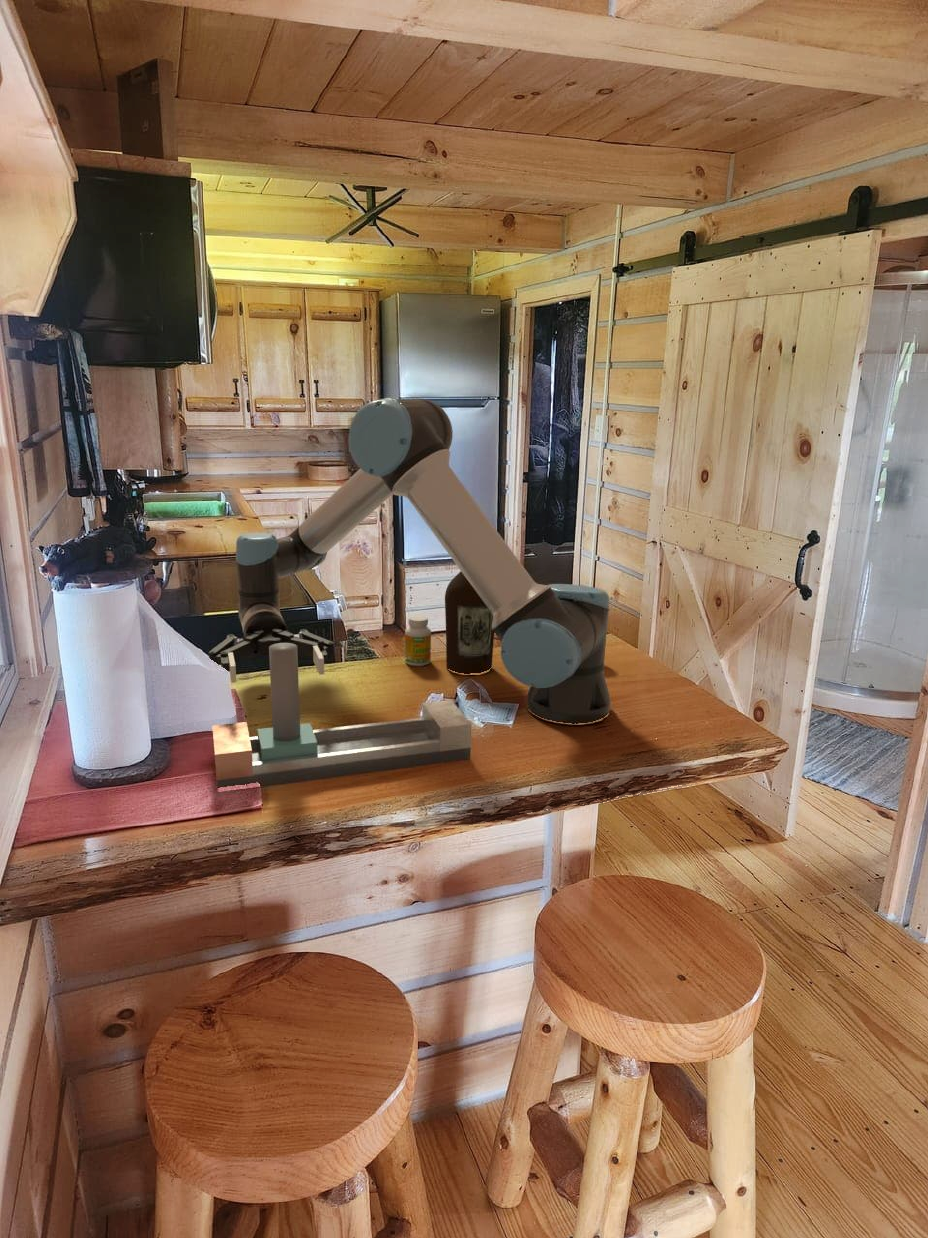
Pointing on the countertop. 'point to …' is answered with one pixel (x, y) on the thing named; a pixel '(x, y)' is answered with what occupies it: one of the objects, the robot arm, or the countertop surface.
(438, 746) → the rail track
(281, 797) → the countertop surface
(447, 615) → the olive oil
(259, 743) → the carriage
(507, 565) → the robot arm
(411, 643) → the supplement bottle
